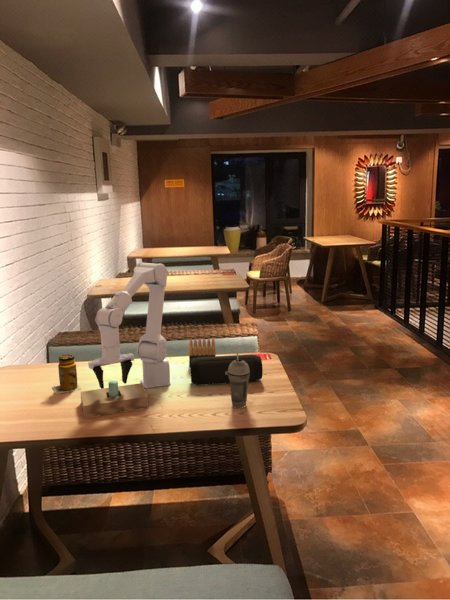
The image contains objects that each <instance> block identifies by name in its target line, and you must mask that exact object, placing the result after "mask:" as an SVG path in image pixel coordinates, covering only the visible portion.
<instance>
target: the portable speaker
mask: <svg viewBox="0 0 450 600" xmlns="http://www.w3.org/2000/svg"><path fill="white" fill-rule="evenodd" d="M238 358H239V359H240V360H243V361H245V362H246V363H247V364H248V366H249V370H250V376H249V379H248V383H256V382H258V381H259V380H261V379H262V378H263V373H264V372H263V371H264V370H263V361H262V357H261V356H259V355H256V354H238ZM234 360H237V354H236V355H217V356H213V357H197V358H194V359H192V360H190V368H189V369H190V382H191V384H194V385H197V386H204V385H205V384H208V385H223V383H227V384H230V380H229V376H228V368H229V365H230V364H231V363H232V362H233V361H234ZM205 386H206V385H205Z"/></svg>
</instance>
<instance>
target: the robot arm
mask: <svg viewBox="0 0 450 600" xmlns="http://www.w3.org/2000/svg"><path fill="white" fill-rule="evenodd" d="M167 281H168V269H167V268H166V266H165V264H163V263H153V262H152V263H151V262H142V261H139V262H138V263H137V264H136V266H135V267H134V268H133V275H132V277H131V278H130V279H129V281H128V283H127V284H126V286H125V287H124V289H123V290H120V291H117V292H115V293H114V296H113V297H112V298H111V299H110V301H109V302H108V303H107V304H106V306H105V307H102V308H100V309H98V310H97V312H96V316H95V318H94V320H95V323H96V324H97V326H98V330H99V331H100V343H101V345H100V346H101V357H100V358H99V357H98V358H96V359H94V360H90V361H87V362H88V363H87V364H88V368H89V369H90V370H92V371H93V373H94V375H95V376H96V379H97V382H98V384H99V389H104V387H105V386H104V370H103V368H102V367H104V366H110V365H114V364H119V363H120V367H121V368H120V369H121V380H122V383H123V384H124V385H126V384H127V382H128V377H129V374H130V371H131V368H132V367H133V361H135V355H134V354H133V353H123V354H122V353H121V345H120V343H121V342H120V329H119V328H120V327H119V326H120V325H121V324H122V322H123V317H124V314H125V312H126V311H127V309H128V308H129V307H130V305H131V304H132V302H133V299H132V297H133V296H134V295H136V293H137V292H138V290H139V289H140V288H141V287H142V286H143V285H145V286H146V287H147V288H148V290H149V295H148V296H149V297H148V303H147V306H148V307H147V315H146V325H145V333H144V334H143V335H141V336H140V337H139V341H138V344H137V347H136V355H137V356H138V357H139V358H140V361H142V362H141V363H142V379H140V382H141V385H142V386H143V388H144V389H149V388H150V389H151V388H157V387H163V386H170V385H172V384H171V375H170V374H171V373H170V372H171V371H170V370H171V369H170V363H169V360H168V358H166V357H167V354H168V348H167V339H166V338H165V337H164V336H163V335H162V333H161V332H162V322H163V313H164V301H165V300H164V299H165V292H166V290H165V289H166V287H167Z"/></svg>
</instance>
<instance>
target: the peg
mask: <svg viewBox="0 0 450 600" xmlns="http://www.w3.org/2000/svg"><path fill="white" fill-rule="evenodd" d="M107 384H108V388H109V397H116V396H119V394H118V386H119V381H117V380H110V381H108V383H107Z"/></svg>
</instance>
